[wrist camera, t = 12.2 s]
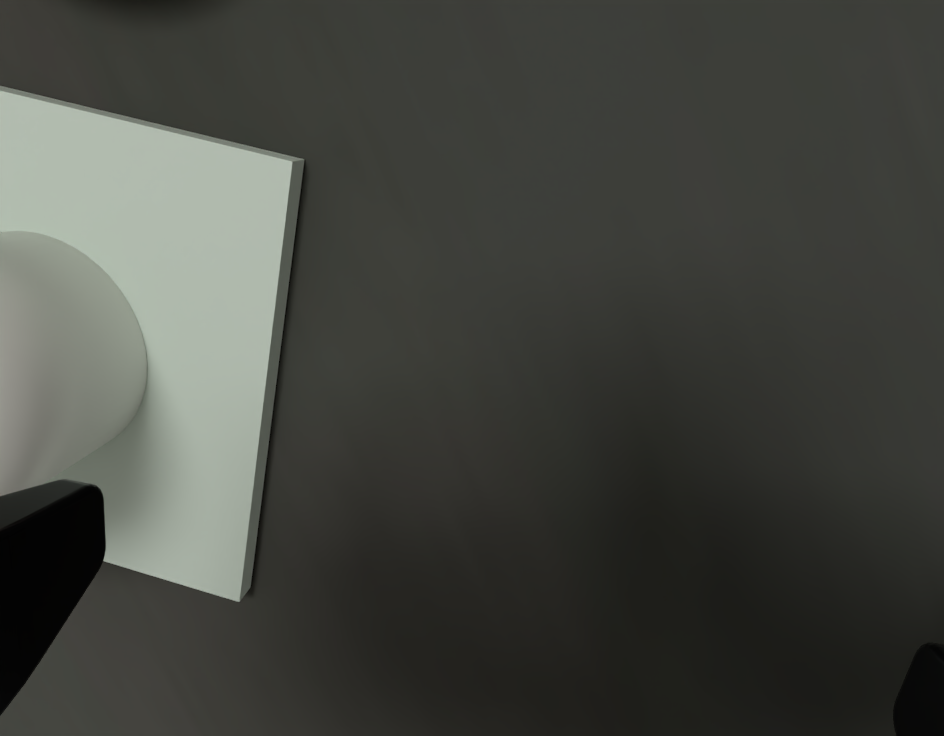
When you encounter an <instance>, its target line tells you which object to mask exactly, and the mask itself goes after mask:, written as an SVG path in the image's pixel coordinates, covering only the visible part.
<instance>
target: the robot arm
mask: <svg viewBox="0 0 944 736" xmlns="http://www.w3.org/2000/svg"><path fill="white" fill-rule="evenodd" d="M105 551H106V535H105V513H104V497H103V493H102V491H101V489H100V488H99V487H98V486H97V485H95V484H90V483H85V482H80V481H75V480H69V479H60V480H56V481H52V482H49V483H45V484H41V485H38V486H34V487H31V488H27V489H24V490H20V491H16V492H13V493H9V494H6V495H2V496H0V715H1V714H2V713H3V712H4V710H5V709H6V708H7V707H8V705H9V704H10V703H11V701H12V700H13V699H14V697H15V696H16V695H17V693H18V692H19V691H20V689H21V688H22V687H23V685H24V684H25V683H26V681H27V680H28V678H29V677H30V675H31V674H32V672H33V671H34V670H35V668H36V667H37V665H38V664H39V662H40V661H41V659H42V658H43V656H44V654H45V653H46V651H47V650H48V648H49V647H50V645H51V644H52V642H53V640H54V639H55V637H56V636H57V634H58V633H59V631H60V630H61V628H62V627H63V625H64V623H65V622H66V620H67V619H68V617H69V616H70V614H71V613H72V611H73V610H74V608H75V606H76V605H77V603H78V602H79V600H80V599H81V597H82V596H83V594H84V592H85V591H86V589H87V588H88V586H89V585H90V583H91V582H92V580H93V579H94V577H95V575H96V574H97V572H98V571H99V569H100V567H101V565H102V562H103V560H104V556H105ZM893 720H894V727H895V732H896V736H944V645H941V644H936V643H927V644H924V645H922V646H921V647H920V648H919V649H918V650H917V652H916V654H915V656H914V658H913V661H912V663H911V665H910V668H909V670H908V672H907V675H906V677H905V679H904V682H903V684H902V686H901V689H900V691H899V694H898V696H897V698H896V701H895V705H894V710H893Z"/></svg>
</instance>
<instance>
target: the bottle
mask: <svg viewBox="0 0 944 736" xmlns="http://www.w3.org/2000/svg"><path fill="white" fill-rule="evenodd" d="M146 380H147V358H146V349H145V345H144V340H143V336H142V332H141V330H140V327H139V324H138V321H137V319H136V317H135V314H134V312H133V310H132V308H131V306H130V304H129V303H128V301H127V299H126V298H125V296H124V295H123V293H122V291H121V290H120V289H119V288H118V286H117V285H116V284H115V282H114V281H113V280H112V279H111V277H110V276H109V275H108V274H107V273H106V272H105V271H104V270H103V269H102V268H101V267H100V266H99V265H98V264H96V263H95V262H94V261H93V260H92V259H90V258H89V257H88V256H87V255H85V254H84V253H82V252H81V251H79V250H77V249H76V248H74V247H73V246H71V245H69V244H67V243H65V242H63V241H61V240H58V239H56V238H53V237H50V236H47V235H44V234H39V233H35V232H28V231H5V232H0V496H2V495H6V494H9V493H13V492H16V491H20V490H24V489H27V488H31V487H34V486H38V485H41V484H44V483H45V482H47V481H48V480H50V479H51V478H53V477H54V476H56V475H58V474H59V473H61V472H62V471H64V470H65V469H67V468H68V467H70V466H72V465H73V464H75V463H76V462H78V461H79V460H81V459H82V458H84V457H86V456H87V455H89V454H90V453H92V452H93V451H95V450H96V449H98V448H100V447H101V446H103V445H104V444H106V443H107V442H109V441H110V440H112V439H113V438H115V437H116V436H117V435H119V434H120V433H121V432H122V431H123V430H124V429H125V428H126V427H127V426H128V425H129V423H130V422H131V420H132V419H133V418H134V416H135V415H136V413H137V410H138V408H139V406H140V404H141V401H142V398H143V395H144V392H145V386H146Z"/></svg>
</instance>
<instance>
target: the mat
mask: <svg viewBox="0 0 944 736" xmlns="http://www.w3.org/2000/svg"><path fill="white" fill-rule="evenodd" d="M304 160H305V159H301V158H296V157H292V156H288V155H284V154H280V153H276V152H272V151H267V150H263V149H259V148H255V147H251V146H247V145H243V144H239V143H234V142H230V141H226V140H222V139H218V138H214V137H210V136H206V135H201V134H197V133H193V132H189V131H185V130H181V129H177V128H172V127H168V126H164V125H160V124H156V123H152V122H148V121H144V120H139V119H135V118H131V117H127V116H123V115H119V114H115V113H111V112H106V111H102V110H98V109H94V108H90V107H86V106H82V105H78V104H73V103H69V102H65V101H61V100H57V99H53V98H49V97H44V96H40V95H36V94H32V93H28V92H24V91H20V90H16V89H11V88H7V87H3V86H0V232H5V231H28V232H35V233H39V234H44V235H47V236H50V237H53V238H56V239H58V240H61V241H63V242H65V243H67V244H69V245H71V246H73V247H74V248H76V249H77V250H79V251H81V252H82V253H84V254H85V255H87V256H88V257H89V258H90V259H92V260H93V261H94V262H95V263H96V264H98V265H99V266H100V267H101V268H102V269H103V270H104V271H105V272H106V273H107V274H108V275H109V276H110V277H111V279H112V280H113V281H114V282H115V284H116V285H117V286H118V288H119V289H120V290H121V291H122V293H123V295H124V296H125V298H126V299H127V301H128V303H129V304H130V306H131V308H132V310H133V312H134V314H135V317H136V319H137V321H138V324H139V327H140V330H141V332H142V336H143V340H144V345H145V349H146V358H147V380H146V386H145V392H144V395H143V398H142V401H141V404H140V406H139V408H138V410H137V413H136V415H135V416H134V418H133V419H132V420H131V422H130V423H129V425H128V426H127V427H126V428H125V429H124V430H123V431H122V432H121V433H120V434H119V435H117V436H116V437H115V438H113V439H112V440H110V441H109V442H107V443H106V444H104V445H103V446H101V447H100V448H98V449H96V450H95V451H93V452H92V453H90V454H89V455H87V456H86V457H84V458H82V459H81V460H79V461H78V462H76V463H75V464H73V465H72V466H70V467H68V468H67V469H65V470H64V471H62V472H61V473H59V474H58V475H56V476H54V477H53V478H51V479H50V480H48V481H47V482H45V483H49V482H52V481H56V480H60V479H69V480H75V481H80V482H85V483H90V484H95V485H97V486H98V487H99V488H100V489H101V491H102V493H103V497H104V513H105V535H106V551H105V556H104V560H103V561H105V562H109V563H112V564H115V565H118V566H122V567H125V568H128V569H132V570H135V571H138V572H142V573H145V574H148V575H151V576H155V577H158V578H161V579H165V580H168V581H171V582H175V583H178V584H181V585H185V586H188V587H191V588H194V589H198V590H201V591H204V592H208V593H211V594H214V595H218V596H221V597H224V598H227V599H231V600H234V601H237V602H240V601H241V599H242V598H243V597H244V595H245V594H246V593H247V591H248V590H249V589H250V587H251V580H252V572H253V564H254V556H255V548H256V540H257V532H258V524H259V517H260V509H261V501H262V493H263V485H264V477H265V469H266V461H267V453H268V445H269V437H270V429H271V421H272V413H273V405H274V398H275V390H276V382H277V374H278V366H279V358H280V350H281V342H282V334H283V326H284V318H285V310H286V302H287V294H288V286H289V279H290V271H291V263H292V255H293V247H294V239H295V231H296V223H297V215H298V207H299V199H300V191H301V183H302V175H303V167H304ZM45 483H44V484H45Z"/></svg>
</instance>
